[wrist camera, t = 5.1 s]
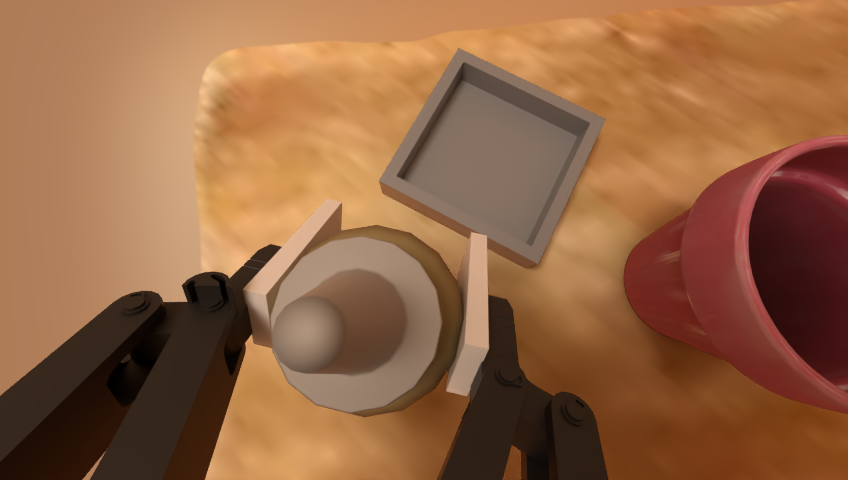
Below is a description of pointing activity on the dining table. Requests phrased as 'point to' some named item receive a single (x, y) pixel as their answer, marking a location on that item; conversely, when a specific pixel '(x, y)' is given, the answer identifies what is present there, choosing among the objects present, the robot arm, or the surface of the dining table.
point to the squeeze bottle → (367, 321)
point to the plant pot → (760, 272)
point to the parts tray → (493, 157)
